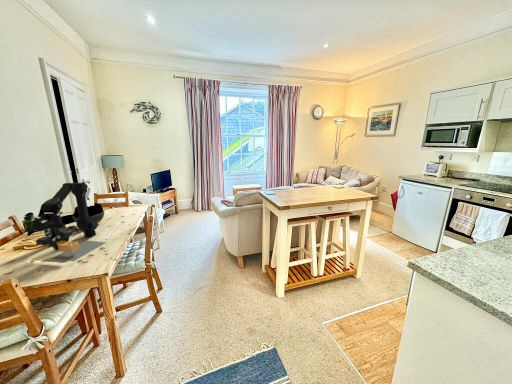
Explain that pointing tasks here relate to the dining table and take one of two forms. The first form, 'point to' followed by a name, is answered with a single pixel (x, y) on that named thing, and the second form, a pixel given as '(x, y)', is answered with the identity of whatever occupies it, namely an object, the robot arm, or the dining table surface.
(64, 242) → the orange rectangular block
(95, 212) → the coal bowl
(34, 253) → the dining table surface
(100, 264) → the dining table surface
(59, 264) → the dining table surface
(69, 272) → the dining table surface
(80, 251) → the keeper board
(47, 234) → the spotted tube
